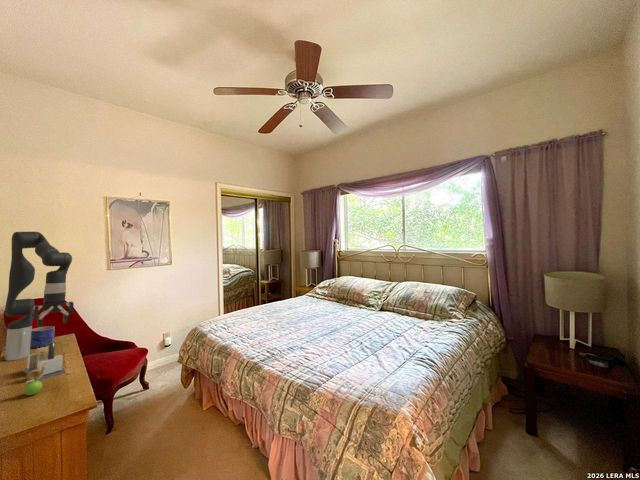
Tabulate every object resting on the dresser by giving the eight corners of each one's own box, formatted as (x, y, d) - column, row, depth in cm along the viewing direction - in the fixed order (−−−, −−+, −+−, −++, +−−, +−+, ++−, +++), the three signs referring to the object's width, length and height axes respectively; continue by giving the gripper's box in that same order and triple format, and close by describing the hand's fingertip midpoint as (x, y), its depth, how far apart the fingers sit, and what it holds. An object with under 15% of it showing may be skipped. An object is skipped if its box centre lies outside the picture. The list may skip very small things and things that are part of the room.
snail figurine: (47, 391, 111) (50, 363, 112) (27, 399, 105) (29, 369, 106) (40, 388, 113) (42, 361, 113) (19, 396, 107) (22, 367, 107)
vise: (23, 372, 128) (24, 355, 128) (51, 364, 137) (52, 348, 137) (36, 381, 119) (37, 362, 120) (64, 372, 128) (66, 355, 128)
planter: (26, 350, 155) (28, 332, 156) (30, 345, 164) (31, 328, 164) (52, 346, 163) (53, 328, 163) (54, 341, 171) (55, 325, 171)
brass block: (39, 371, 126) (40, 350, 126) (34, 368, 129) (36, 348, 129) (50, 368, 129) (51, 348, 130) (45, 365, 132) (47, 346, 133)
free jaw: (36, 374, 122) (38, 344, 123) (59, 368, 129) (61, 339, 130) (39, 376, 120) (41, 345, 121) (62, 369, 127) (64, 341, 128)
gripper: (37, 294, 119) (34, 329, 118) (77, 290, 131) (74, 322, 130) (31, 293, 122) (29, 327, 121) (71, 289, 135) (69, 320, 134)
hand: (52, 324), depth 126 cm, fingers open, 8 cm apart
